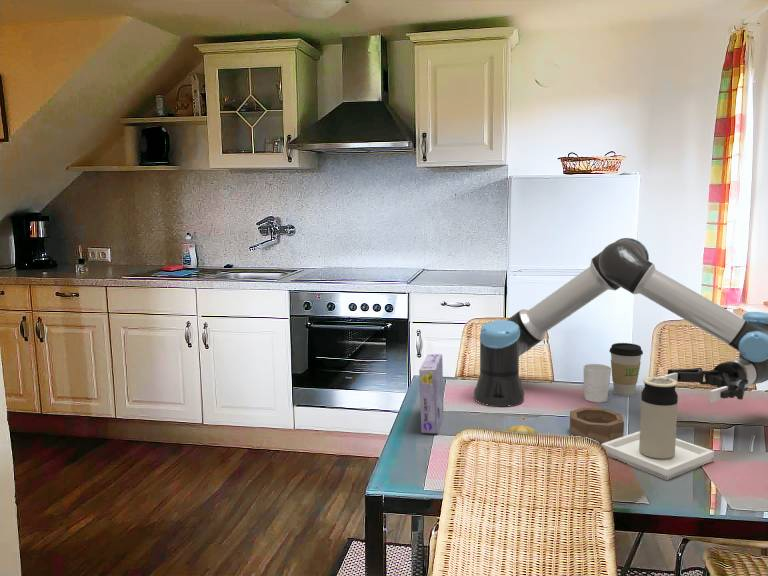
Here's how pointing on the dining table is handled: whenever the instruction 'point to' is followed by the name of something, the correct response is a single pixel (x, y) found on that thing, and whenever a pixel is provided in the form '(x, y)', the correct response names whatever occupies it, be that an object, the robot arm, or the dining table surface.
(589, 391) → the white cup
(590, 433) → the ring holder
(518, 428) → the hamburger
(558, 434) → the dining table surface
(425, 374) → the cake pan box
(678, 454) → the tray
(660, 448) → the travel mug
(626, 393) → the coffee cup
